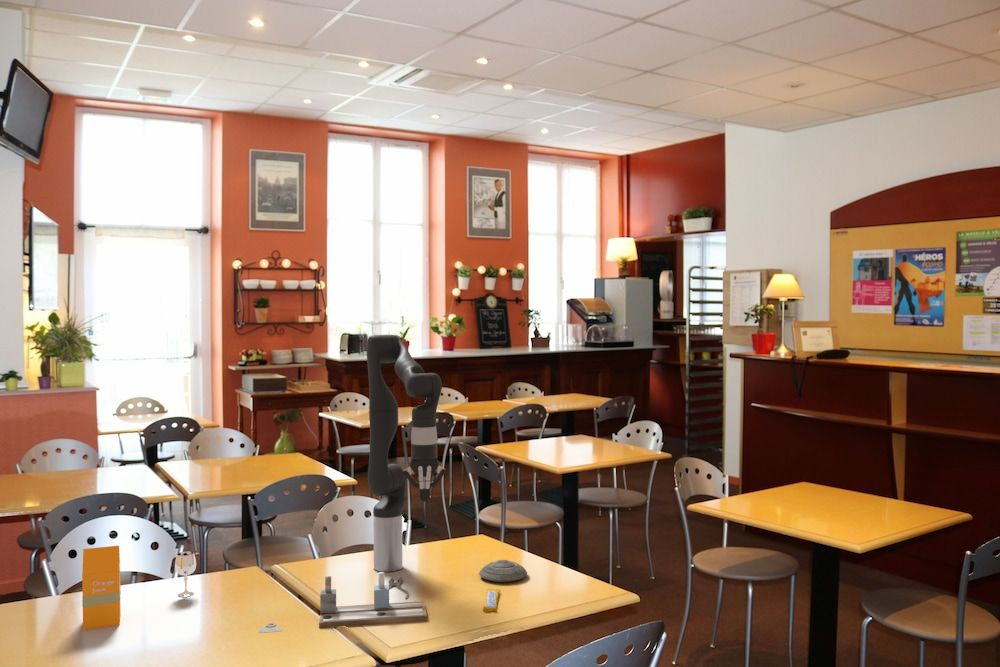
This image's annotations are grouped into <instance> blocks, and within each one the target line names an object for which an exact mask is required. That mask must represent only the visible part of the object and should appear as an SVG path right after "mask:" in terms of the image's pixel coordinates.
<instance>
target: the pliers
mask: <svg viewBox="0 0 1000 667" xmlns="http://www.w3.org/2000/svg"><path fill="white" fill-rule="evenodd" d="M403 582H404V581H403V579H402V577H400V576H399V579H398V580H397V581H395V580H394V578H393V577H391V578H390V579H389V580H388V585H389V590H391V589H393V588H397V589H398V591H401V592H403V593H404V594H405V595H406V597H405V598H404V599H405V600H408V599H409V596H410V594H409V592H408V591H407V590H406V589H404V588H403V587H401V585H402V584H403Z"/></svg>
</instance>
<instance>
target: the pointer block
mask: <svg viewBox="0 0 1000 667" xmlns="http://www.w3.org/2000/svg"><path fill="white" fill-rule="evenodd" d="M377 578H378V582H377V583H378V585H373V604H374V609H379V608H389V603H390V589H389V584H385V572H382V571H378V577H377Z"/></svg>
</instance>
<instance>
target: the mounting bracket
mask: <svg viewBox="0 0 1000 667" xmlns="http://www.w3.org/2000/svg"><path fill="white" fill-rule="evenodd" d="M283 628H284V627H283V626H277V623H275V622H274V623H273V622H270V623H266V624H265V626H263V627H262V626H261V627H258V633H259V634H266V633H274V632H275V633H276V632H281V631H283V630H284V629H283Z"/></svg>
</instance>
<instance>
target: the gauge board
mask: <svg viewBox="0 0 1000 667" xmlns="http://www.w3.org/2000/svg"><path fill="white" fill-rule="evenodd" d="M319 596H320V599H319V600H320V601H319V603H320V607H319V608H320V610H319V611H320V615H319V621H318V627H319V628H332V627H349V626H364V625H378V624H379V625H380V624H395V623H397V624H398V623H413V622H414V623H415V622H425V621H428V614H427V609H426V603H425V601H424V600H422V601H408V602H407V601H405V602H391V603H390V602H389V608H379V609H374V603H373V604H358V605H357V604H356V605H355V604H354V605H339V606H337V589H336V588H332V576H331V575H327V576H325V577H324V589H320V593H319Z"/></svg>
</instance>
